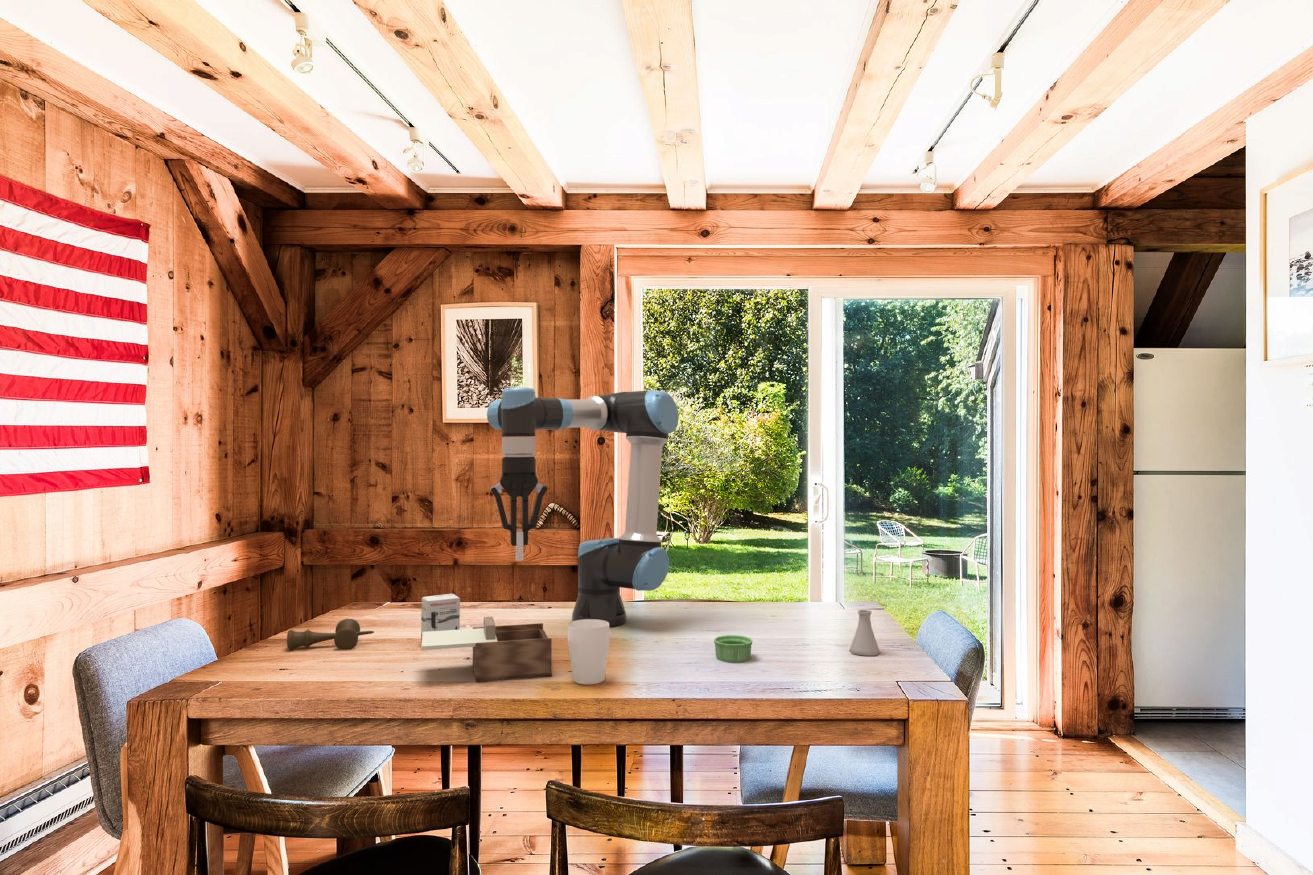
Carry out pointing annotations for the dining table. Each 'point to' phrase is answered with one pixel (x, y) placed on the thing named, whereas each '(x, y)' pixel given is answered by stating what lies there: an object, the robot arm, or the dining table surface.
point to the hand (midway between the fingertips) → (519, 559)
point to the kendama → (328, 636)
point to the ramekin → (733, 648)
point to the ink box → (440, 613)
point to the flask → (864, 637)
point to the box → (514, 654)
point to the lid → (459, 637)
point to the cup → (588, 650)
